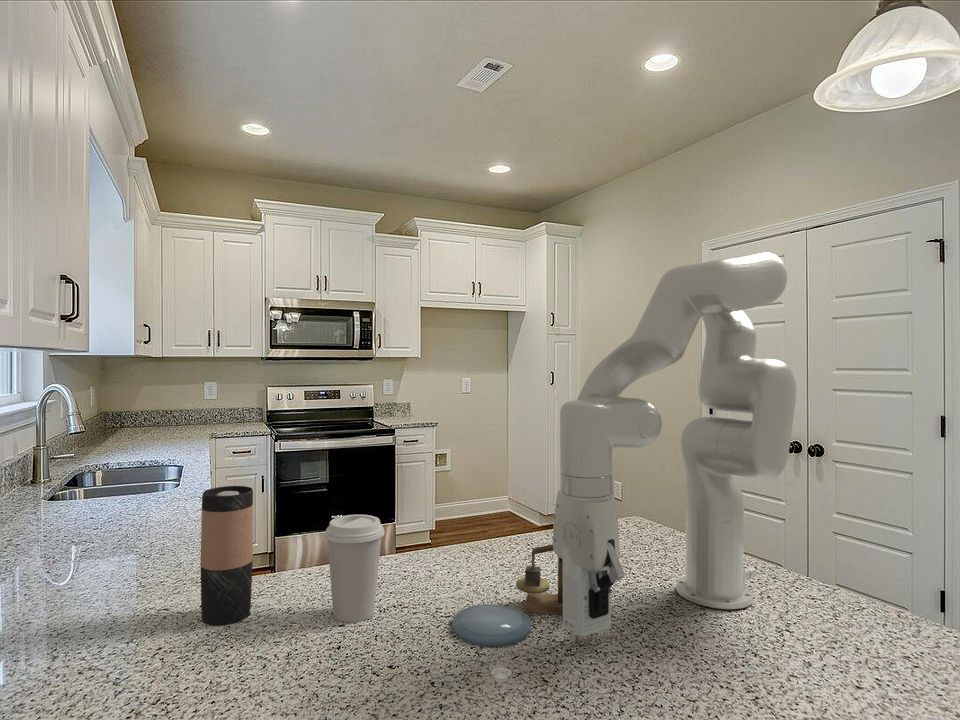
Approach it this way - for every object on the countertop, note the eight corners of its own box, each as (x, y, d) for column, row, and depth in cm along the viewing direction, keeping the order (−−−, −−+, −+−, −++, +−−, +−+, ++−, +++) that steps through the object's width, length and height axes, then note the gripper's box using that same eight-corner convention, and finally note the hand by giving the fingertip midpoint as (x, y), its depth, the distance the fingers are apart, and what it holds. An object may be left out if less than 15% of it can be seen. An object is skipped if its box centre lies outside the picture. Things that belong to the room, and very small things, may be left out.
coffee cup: (362, 596, 99) (363, 510, 99) (395, 614, 92) (396, 521, 92) (312, 612, 92) (313, 520, 93) (343, 633, 86) (344, 533, 86)
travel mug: (262, 609, 93) (264, 487, 93) (227, 630, 86) (229, 498, 86) (225, 602, 96) (226, 484, 96) (188, 622, 89) (190, 493, 89)
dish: (502, 604, 96) (502, 597, 96) (546, 634, 86) (546, 626, 86) (439, 620, 90) (439, 613, 90) (477, 654, 80) (477, 646, 80)
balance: (609, 604, 97) (609, 532, 97) (611, 619, 91) (612, 542, 91) (517, 597, 99) (518, 527, 99) (514, 611, 94) (515, 536, 94)
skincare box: (582, 638, 80) (581, 553, 80) (560, 626, 84) (560, 544, 84) (613, 627, 84) (612, 544, 83) (591, 615, 87) (590, 536, 87)
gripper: (531, 477, 89) (532, 594, 89) (607, 501, 74) (608, 640, 75) (569, 472, 93) (570, 584, 93) (648, 493, 78) (649, 626, 78)
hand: (587, 607), depth 84 cm, fingers closed on skincare box, 4 cm apart
